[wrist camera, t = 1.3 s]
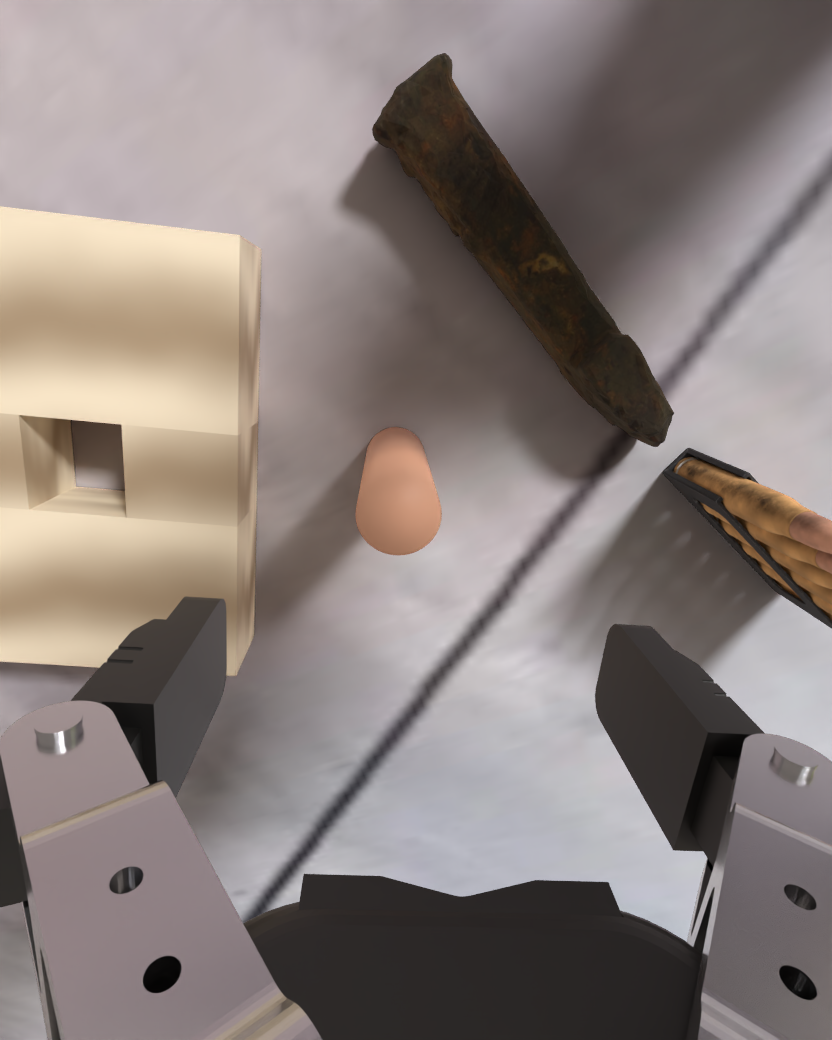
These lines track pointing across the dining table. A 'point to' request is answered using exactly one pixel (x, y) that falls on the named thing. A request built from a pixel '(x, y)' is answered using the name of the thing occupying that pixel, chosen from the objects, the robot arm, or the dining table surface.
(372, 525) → the peg
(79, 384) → the hole block
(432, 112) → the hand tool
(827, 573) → the ammunition clip
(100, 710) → the robot arm
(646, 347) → the dining table surface
